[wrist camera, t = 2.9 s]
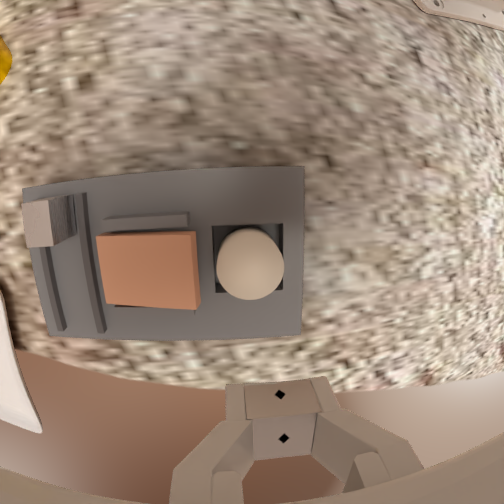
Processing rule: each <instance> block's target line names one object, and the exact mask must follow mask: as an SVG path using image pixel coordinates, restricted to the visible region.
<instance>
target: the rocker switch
mask: <svg viewBox="0 0 504 504" xmlns="http://www.w3.org/2000/svg"><path fill="white" fill-rule="evenodd" d="M96 242H97V250H98V257H99V264H100V270H101V276H102V282H103V288H104V293H105V299H106V303H107V304H118V305H130V306H143V307H157V308H172V309H189V310H197V308H198V307H199V305H200V303H201V297H200V285H199V272H198V259H197V244H196V231H162V232H108V233H102V234H100V235H98V236H96Z"/></svg>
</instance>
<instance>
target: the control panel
mask: <svg viewBox="0 0 504 504" xmlns="http://www.w3.org/2000/svg"><path fill="white" fill-rule="evenodd" d="M22 192H23V203H27V202H31V201H35V200H39V199H43V198H48V197H55V196H62V195H70V194H72V195H73V206H74V216H75V225H76V235H74V236H72V237H70V238H68V239H66V240H64V241H62V242H60V243H59V244H57V245H55V246H47V247H31V248H29V249H30V255H31V260H32V266H33V271H34V276H35V280H36V285H37V289H38V294H39V298H40V302H41V306H42V310H43V314H44V317H45V321H46V324H47V328H48V331H49V335H50V336H59V337H73V338H90V339H112V340H161V341H175V340H224V339H247V338H265V337H281V336H294V335H301V320H302V296H303V265H304V166H255V167H221V168H200V169H183V170H168V171H156V172H144V173H133V174H123V175H114V176H105V177H96V178H88V179H81V180H73V181H66V182H60V183H53V184H47V185H40V186H35V187H29V188H23V189H22ZM241 227H256V228H259V229H261V230H263V231H265V232H266V233H267V234H269V235H270V236H271V238H272V239H273V240H274V242H275V244H276V245H277V247H278V249H279V251H280V252H281V254H282V257H283V260H284V274H283V277H282V280H281V282H280V284H279V285H278V287H277V288H276V289H275V290H274V291H273V292H272V293H270V294H269V295H267V296H265V297H263V298H260V299H256V300H244V299H240V298H237V297H234V296H233V295H231V294H230V293H228V292H227V291H226V290H225V289H224V288H223V287H222V285H221V283H220V282H219V279H218V276H217V258H218V251H219V247H220V244H221V242H222V241H223V239H224V238H225V237H226V236H227V235H228V234H229V233H230V232H232V231H233V230H235V229H238V228H241ZM162 231H196V244H197V259H198V272H199V285H200V297H201V303H200V305H199V307H198V308H197V310H189V309H172V308H157V307H143V306H130V305H118V304H107V303H106V299H105V293H104V288H103V282H102V276H101V270H100V264H99V257H98V250H97V242H96V236H98V235H100V234H102V233H108V232H162Z"/></svg>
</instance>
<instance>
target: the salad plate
mask: <svg viewBox="0 0 504 504" xmlns="http://www.w3.org/2000/svg"><path fill="white" fill-rule="evenodd" d="M0 419H1V420H4V421H6V422H9V423H11V424H13V425H16V426H19V427H21V428H24V429H27V430H30V431H33V432H36V433H42V432H43V428H42V423H41V420H40V417H39V415H38V412H37V410H36V408H35V405H34V403H33V401H32V398H31V396H30V394H29V391H28V389H27V386H26V383H25V381H24V378H23V375H22V372H21V369H20V366H19V363H18V359H17V356H16V353H15V349H14V345H13V341H12V337H11V332H10V328H9V323H8V317H7V312H6V306H5V301H4V297H3V294H2V292H1V290H0Z"/></svg>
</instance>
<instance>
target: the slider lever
mask: <svg viewBox="0 0 504 504" xmlns="http://www.w3.org/2000/svg"><path fill="white" fill-rule="evenodd" d="M21 205H22V215H23V223H24V231H25V237H26V244H27V248H31V247H47V246H55V245H57V244H59V243H60V242H62V241H64V240H66V239H68V238H70V237H72V236H74V235H76V225H75V216H74V206H73V195H72V194H70V195H62V196H55V197H48V198H43V199H39V200H35V201H31V202H27V203H23V204H21Z"/></svg>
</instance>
